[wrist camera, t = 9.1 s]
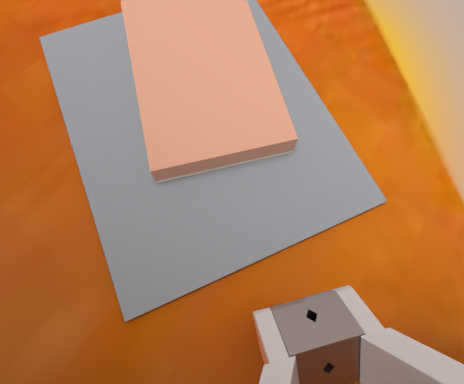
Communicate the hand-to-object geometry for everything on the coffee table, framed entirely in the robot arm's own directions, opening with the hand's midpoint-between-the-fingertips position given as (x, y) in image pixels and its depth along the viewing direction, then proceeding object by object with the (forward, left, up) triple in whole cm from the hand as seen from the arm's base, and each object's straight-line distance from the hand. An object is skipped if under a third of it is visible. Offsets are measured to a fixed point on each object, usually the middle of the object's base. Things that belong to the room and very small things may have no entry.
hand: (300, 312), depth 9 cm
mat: (+1, +13, -8) cm, 16 cm away
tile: (+1, +9, -7) cm, 11 cm away
